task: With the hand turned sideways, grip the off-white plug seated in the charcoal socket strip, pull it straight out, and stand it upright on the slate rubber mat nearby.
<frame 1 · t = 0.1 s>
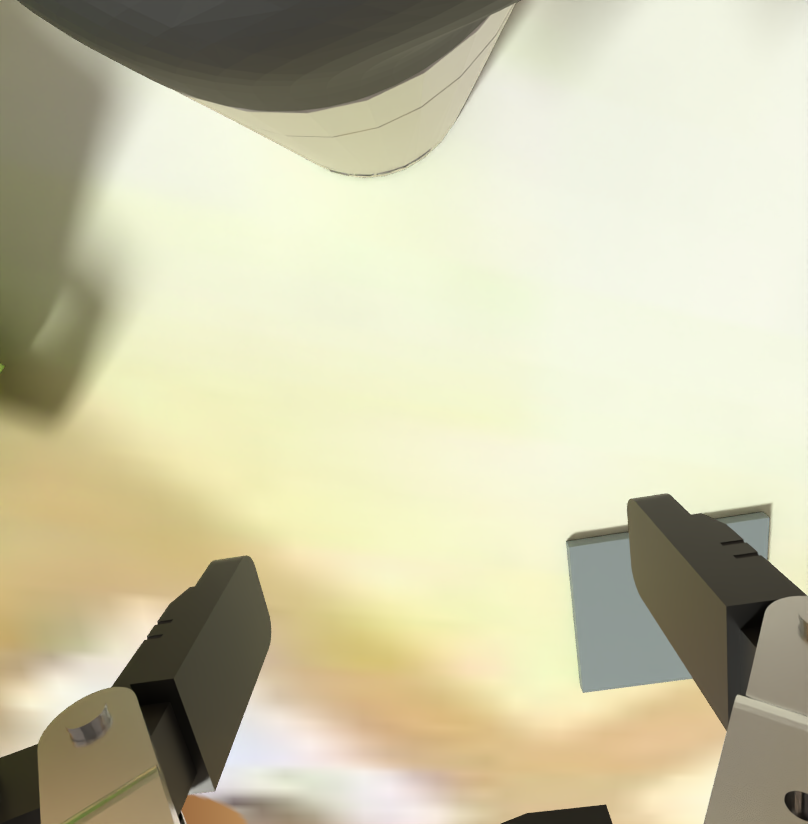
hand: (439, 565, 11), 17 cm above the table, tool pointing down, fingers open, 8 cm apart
mat: (665, 604, 33), on the table
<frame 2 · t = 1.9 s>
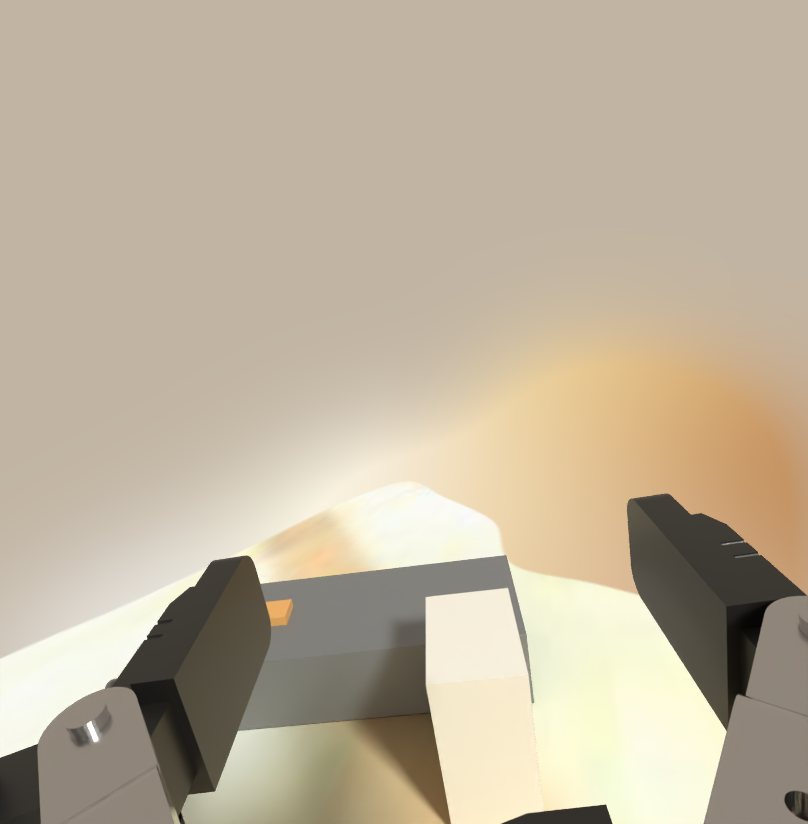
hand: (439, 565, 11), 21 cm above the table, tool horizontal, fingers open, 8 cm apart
plug: (491, 770, 29), on the table
socket strip: (374, 668, 37), on the table
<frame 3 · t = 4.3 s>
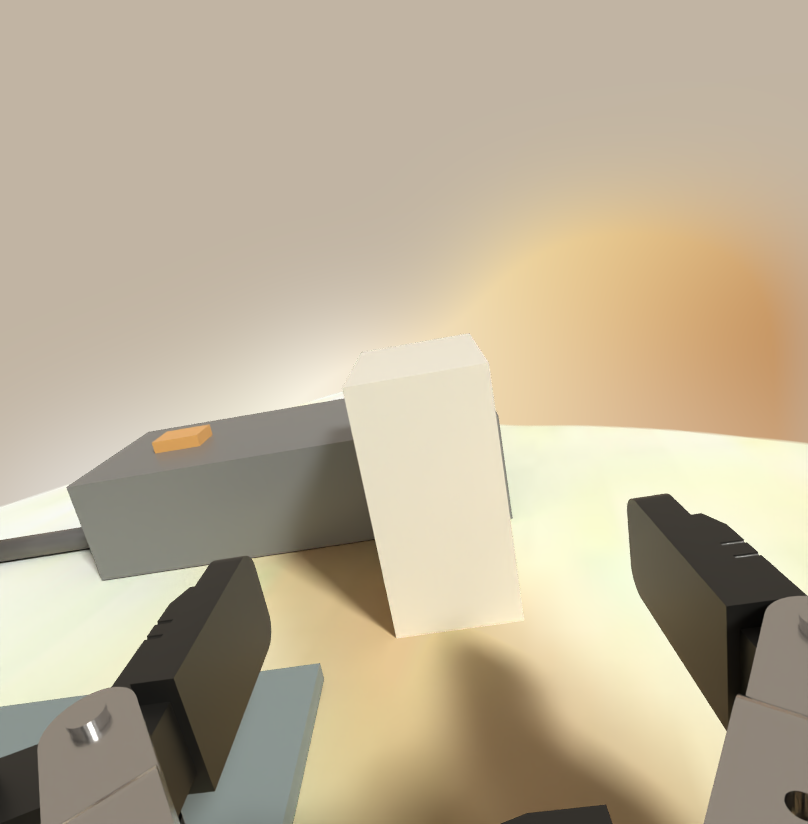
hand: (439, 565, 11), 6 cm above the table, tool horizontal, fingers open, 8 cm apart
plug: (453, 578, 21), on the table
socket strip: (316, 511, 30), on the table
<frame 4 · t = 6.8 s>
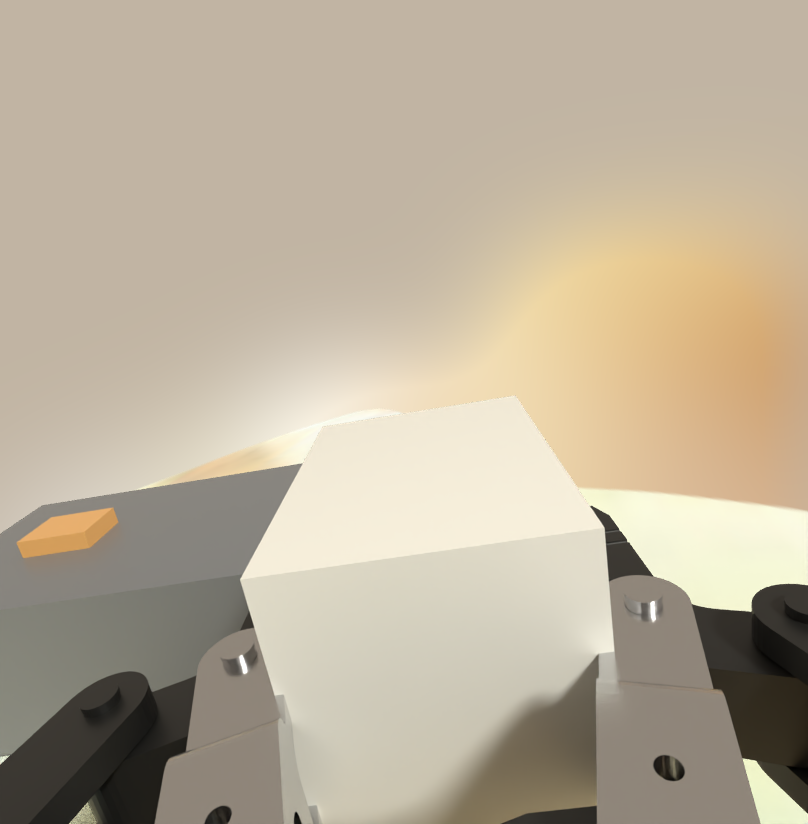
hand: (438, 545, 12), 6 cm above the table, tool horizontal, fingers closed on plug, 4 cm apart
socket strip: (272, 635, 20), on the table
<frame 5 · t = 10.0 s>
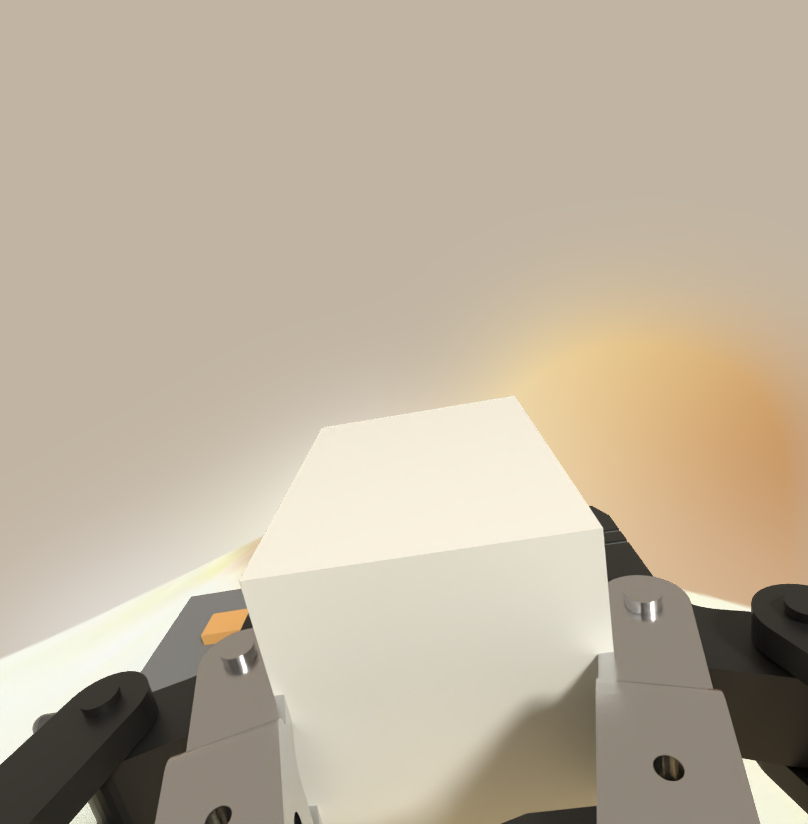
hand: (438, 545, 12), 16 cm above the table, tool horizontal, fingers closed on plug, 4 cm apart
socket strip: (359, 689, 30), on the table
when the fingers open (8 cm above the table, at t = 13.4 s): plug drops 1 cm, resting on mat.
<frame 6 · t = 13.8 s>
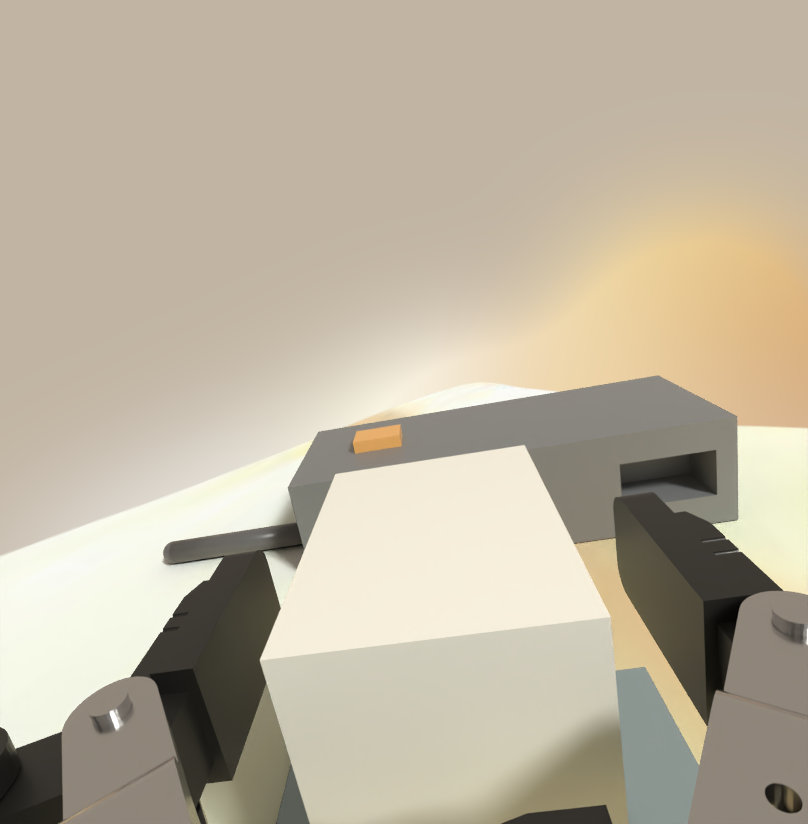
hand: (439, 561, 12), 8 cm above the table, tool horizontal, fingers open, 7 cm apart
socket strip: (505, 512, 29), on the table
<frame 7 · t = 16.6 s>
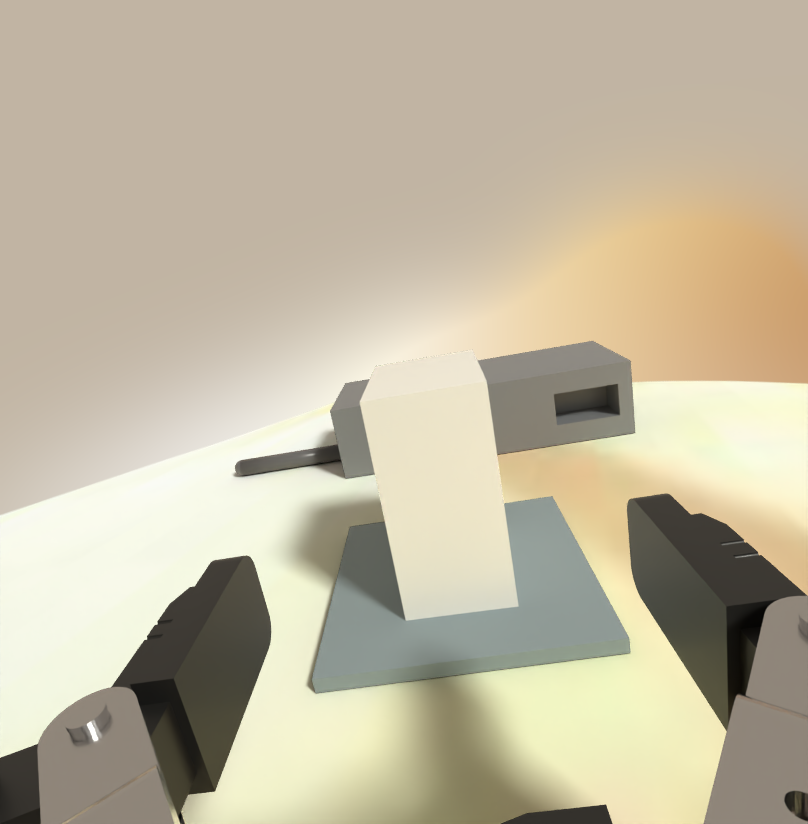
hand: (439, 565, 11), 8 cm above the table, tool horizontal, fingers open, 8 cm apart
plug: (457, 569, 24), point 1 cm above the table, touching mat
socket strip: (481, 436, 41), on the table
mat: (458, 580, 24), on the table
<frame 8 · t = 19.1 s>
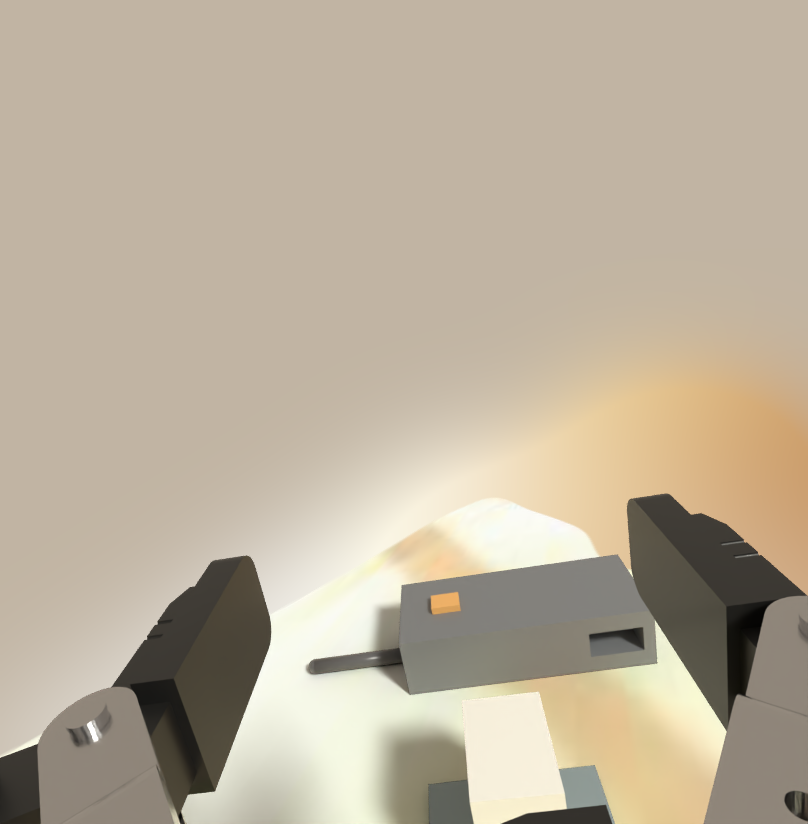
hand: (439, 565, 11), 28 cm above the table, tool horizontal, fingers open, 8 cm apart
socket strip: (522, 644, 48), on the table
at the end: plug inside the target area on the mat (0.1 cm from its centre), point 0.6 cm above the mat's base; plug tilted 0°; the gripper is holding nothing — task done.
